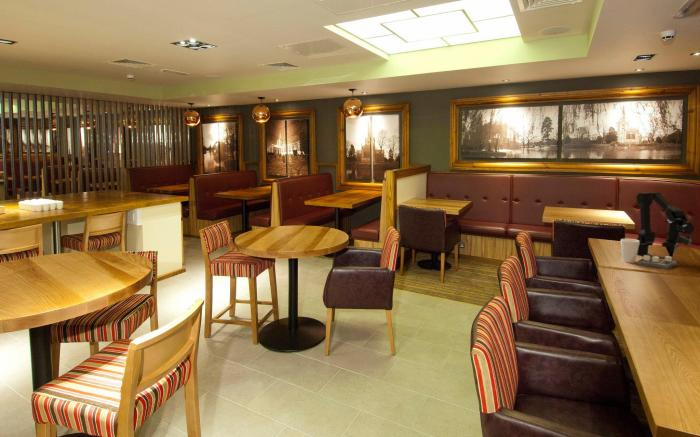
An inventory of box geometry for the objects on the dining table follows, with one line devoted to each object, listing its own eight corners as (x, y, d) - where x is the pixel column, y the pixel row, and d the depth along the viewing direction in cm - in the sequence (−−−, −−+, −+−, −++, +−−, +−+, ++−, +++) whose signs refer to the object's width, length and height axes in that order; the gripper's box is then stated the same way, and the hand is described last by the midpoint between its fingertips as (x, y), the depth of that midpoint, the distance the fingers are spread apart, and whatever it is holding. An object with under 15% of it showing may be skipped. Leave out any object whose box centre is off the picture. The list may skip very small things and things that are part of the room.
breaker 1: (644, 259, 254) (644, 255, 254) (649, 260, 252) (650, 255, 252) (643, 260, 253) (643, 255, 252) (648, 260, 251) (648, 256, 250)
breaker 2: (665, 260, 251) (666, 256, 251) (671, 261, 249) (671, 256, 249) (664, 261, 250) (665, 256, 249) (670, 261, 248) (670, 257, 247)
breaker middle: (653, 260, 251) (653, 256, 250) (658, 261, 249) (659, 257, 249) (652, 261, 249) (652, 257, 249) (657, 262, 247) (658, 257, 247)
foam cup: (632, 259, 263) (634, 238, 261) (641, 263, 254) (643, 241, 252) (616, 259, 264) (617, 238, 262) (624, 263, 255) (625, 241, 253)
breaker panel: (646, 259, 262) (646, 256, 262) (676, 264, 251) (676, 260, 250) (637, 264, 252) (637, 261, 252) (668, 269, 241) (668, 265, 240)
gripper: (686, 234, 239) (683, 262, 241) (695, 230, 251) (692, 256, 253) (662, 232, 248) (660, 258, 250) (672, 228, 260) (669, 253, 262)
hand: (671, 257), depth 254 cm, fingers closed
